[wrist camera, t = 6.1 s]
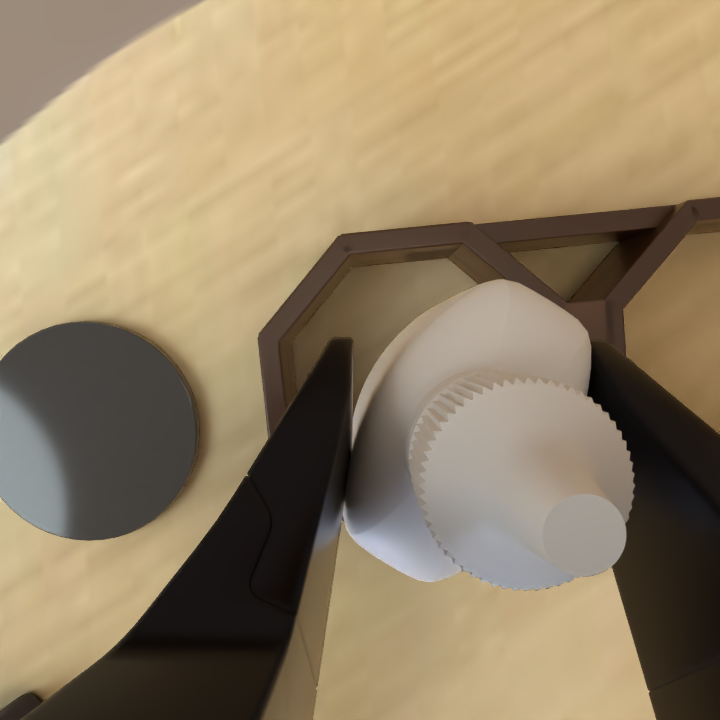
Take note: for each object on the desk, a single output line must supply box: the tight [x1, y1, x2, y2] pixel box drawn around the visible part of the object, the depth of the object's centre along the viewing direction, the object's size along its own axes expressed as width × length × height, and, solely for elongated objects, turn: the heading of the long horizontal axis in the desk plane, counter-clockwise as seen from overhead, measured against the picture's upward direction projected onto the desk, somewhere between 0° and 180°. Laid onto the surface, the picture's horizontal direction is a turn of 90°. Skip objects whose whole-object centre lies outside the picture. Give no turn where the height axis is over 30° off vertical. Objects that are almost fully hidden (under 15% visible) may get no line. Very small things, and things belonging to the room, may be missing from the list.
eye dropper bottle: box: [343, 279, 635, 591], centre depth 10 cm, size 4×6×12 cm
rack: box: [258, 197, 720, 523], centre depth 18 cm, size 10×21×3 cm, turn 95°
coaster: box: [0, 322, 200, 540], centre depth 19 cm, size 8×8×1 cm
